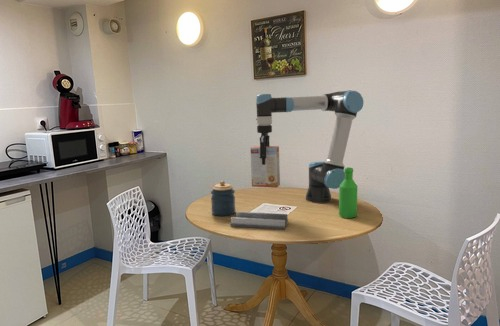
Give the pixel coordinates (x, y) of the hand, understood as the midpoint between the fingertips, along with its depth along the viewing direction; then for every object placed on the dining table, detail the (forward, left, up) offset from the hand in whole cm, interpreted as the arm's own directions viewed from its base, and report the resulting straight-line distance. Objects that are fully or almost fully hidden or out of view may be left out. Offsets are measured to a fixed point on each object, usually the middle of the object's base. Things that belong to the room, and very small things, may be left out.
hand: (265, 169), depth 179 cm
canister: (+23, +2, -24) cm, 34 cm away
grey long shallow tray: (0, +16, -24) cm, 29 cm away
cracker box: (0, 0, -9) cm, 9 cm away
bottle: (-42, -3, -24) cm, 48 cm away
